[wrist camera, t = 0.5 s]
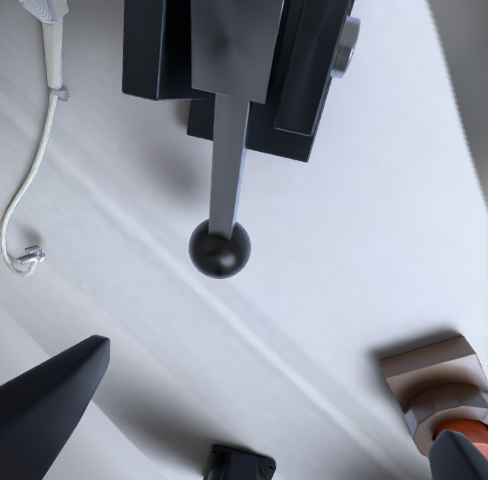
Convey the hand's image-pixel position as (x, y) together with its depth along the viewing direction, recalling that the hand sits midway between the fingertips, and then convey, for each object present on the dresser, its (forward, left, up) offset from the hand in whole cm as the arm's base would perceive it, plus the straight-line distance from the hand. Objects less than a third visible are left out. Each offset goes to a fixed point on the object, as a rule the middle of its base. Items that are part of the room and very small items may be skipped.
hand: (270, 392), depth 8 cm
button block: (-11, -15, -13) cm, 23 cm away
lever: (+4, +3, -8) cm, 9 cm away
